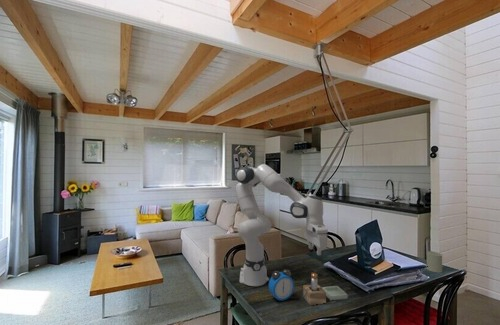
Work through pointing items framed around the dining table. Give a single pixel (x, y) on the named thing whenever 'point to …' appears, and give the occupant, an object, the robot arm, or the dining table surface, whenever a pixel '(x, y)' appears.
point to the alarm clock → (281, 285)
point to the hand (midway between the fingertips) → (314, 251)
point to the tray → (335, 293)
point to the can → (434, 261)
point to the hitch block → (314, 295)
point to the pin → (313, 281)
